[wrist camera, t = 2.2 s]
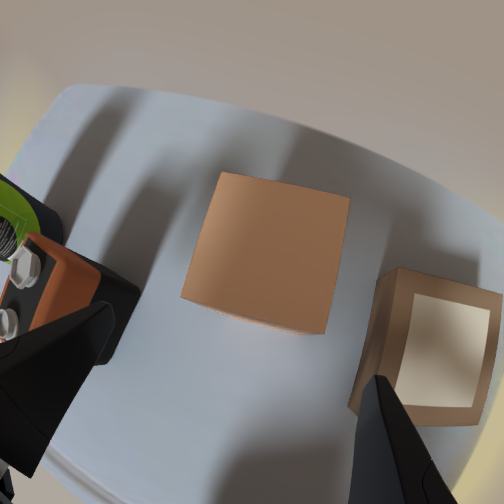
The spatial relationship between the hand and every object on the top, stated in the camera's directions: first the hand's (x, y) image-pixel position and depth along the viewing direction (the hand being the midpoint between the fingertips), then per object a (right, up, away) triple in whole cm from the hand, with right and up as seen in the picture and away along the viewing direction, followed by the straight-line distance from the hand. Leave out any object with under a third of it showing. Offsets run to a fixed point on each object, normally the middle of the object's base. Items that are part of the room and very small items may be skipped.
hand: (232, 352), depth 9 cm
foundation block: (+13, -4, +9) cm, 16 cm away
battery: (-11, -2, +12) cm, 16 cm away
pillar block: (+2, +1, +11) cm, 11 cm away
